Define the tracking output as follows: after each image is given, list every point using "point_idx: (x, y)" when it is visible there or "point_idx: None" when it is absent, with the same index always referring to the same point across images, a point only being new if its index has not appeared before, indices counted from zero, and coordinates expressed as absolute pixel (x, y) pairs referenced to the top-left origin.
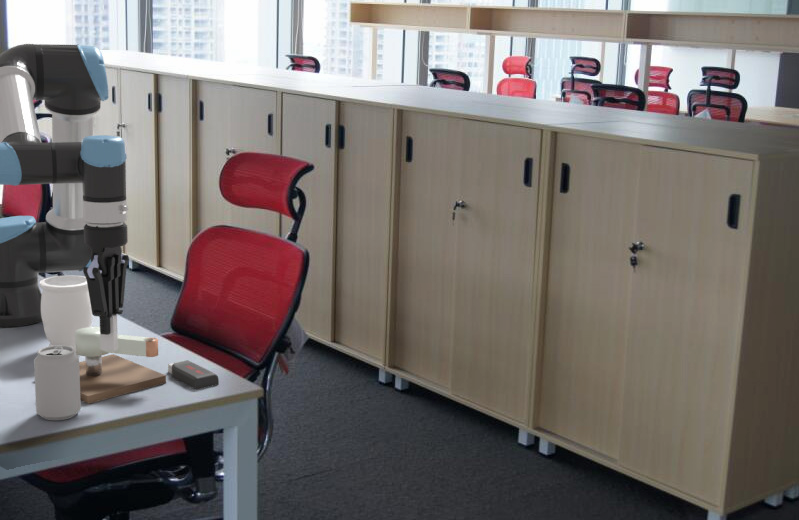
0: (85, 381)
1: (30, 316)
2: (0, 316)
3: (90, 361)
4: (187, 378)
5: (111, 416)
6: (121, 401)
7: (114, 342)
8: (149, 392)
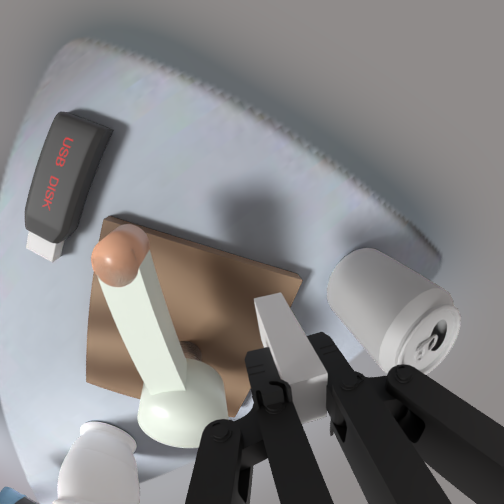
0: (231, 339)
1: None
2: None
3: None
4: (92, 163)
5: (334, 190)
6: (255, 225)
7: (284, 308)
8: (177, 207)
